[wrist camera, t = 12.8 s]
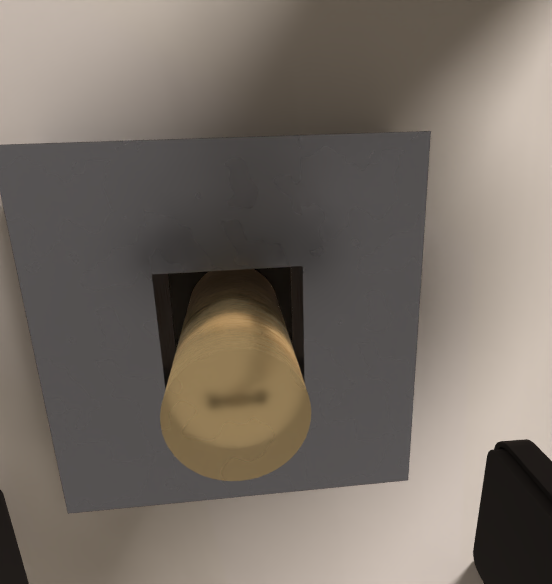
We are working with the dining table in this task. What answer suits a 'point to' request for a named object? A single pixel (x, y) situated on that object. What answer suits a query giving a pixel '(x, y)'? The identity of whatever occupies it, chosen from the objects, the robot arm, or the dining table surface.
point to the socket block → (217, 257)
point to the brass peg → (234, 382)
